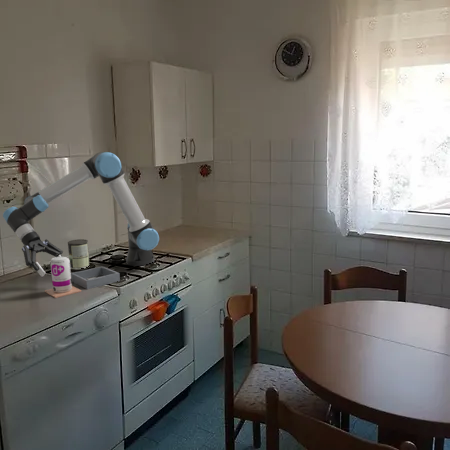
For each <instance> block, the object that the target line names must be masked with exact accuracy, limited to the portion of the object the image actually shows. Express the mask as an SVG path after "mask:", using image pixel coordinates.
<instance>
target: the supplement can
mask: <svg viewBox="0 0 450 450" xmlns="http://www.w3.org/2000/svg"><path fill="white" fill-rule="evenodd" d="M71 270H72V269H71V268H70V260H69V256H63V255H62V256H61V257H55V256H54V257H52V258H51V260H50V271H51V282H52V289H53V291H55V292H56V293H64V292H68V291H70V290H71V289H72V286H73V284H72V283H73V282H72V281H71V273H72V272H71Z"/></svg>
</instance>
